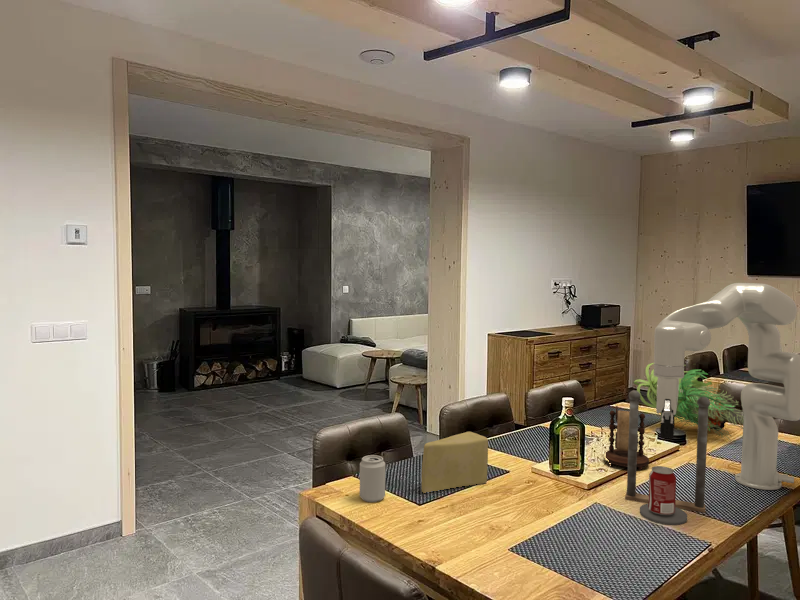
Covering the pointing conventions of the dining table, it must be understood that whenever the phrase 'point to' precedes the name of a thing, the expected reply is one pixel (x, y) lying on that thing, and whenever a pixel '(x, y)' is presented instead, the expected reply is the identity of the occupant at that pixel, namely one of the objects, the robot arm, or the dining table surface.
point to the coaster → (674, 519)
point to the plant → (692, 400)
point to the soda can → (662, 491)
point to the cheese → (454, 462)
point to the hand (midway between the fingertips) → (667, 432)
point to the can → (372, 478)
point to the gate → (700, 462)
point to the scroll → (624, 440)
